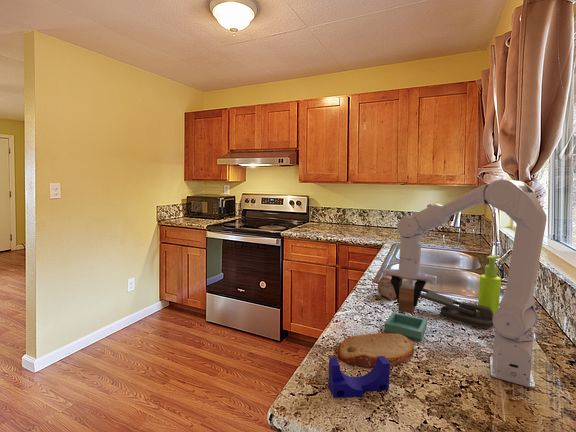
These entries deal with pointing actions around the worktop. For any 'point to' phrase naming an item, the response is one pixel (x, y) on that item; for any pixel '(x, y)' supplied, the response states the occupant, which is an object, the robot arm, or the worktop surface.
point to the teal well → (406, 326)
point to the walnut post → (406, 298)
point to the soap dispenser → (490, 286)
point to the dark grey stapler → (462, 310)
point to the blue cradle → (358, 379)
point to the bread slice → (375, 349)
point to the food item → (389, 287)
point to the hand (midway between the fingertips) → (407, 303)
